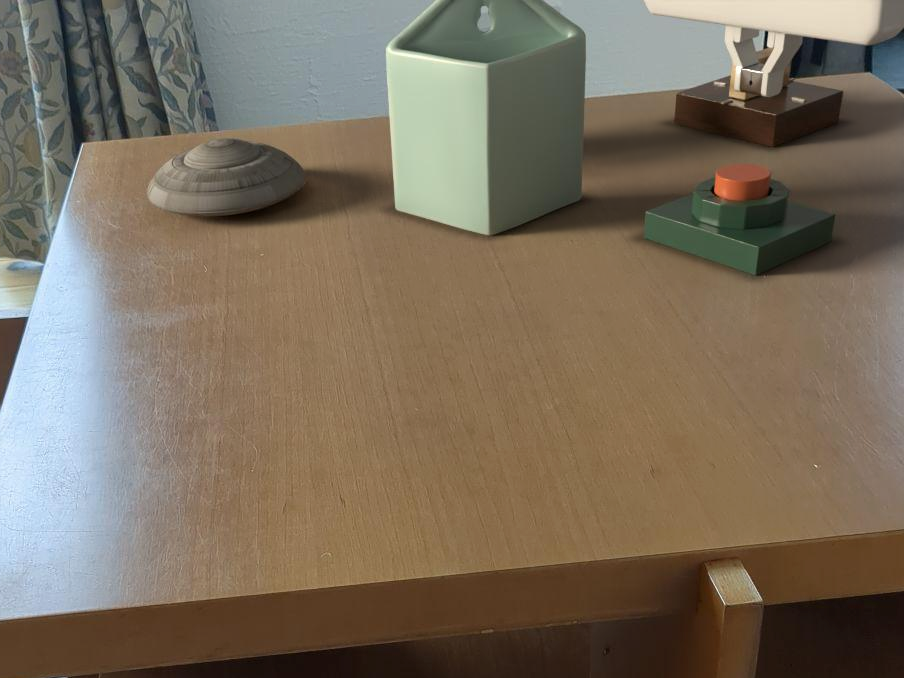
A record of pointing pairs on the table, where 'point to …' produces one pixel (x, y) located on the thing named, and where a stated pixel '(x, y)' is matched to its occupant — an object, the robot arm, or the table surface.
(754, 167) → the button
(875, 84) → the table surface
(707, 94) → the panel
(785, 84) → the handle
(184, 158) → the flying saucer
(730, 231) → the button block
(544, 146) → the planter
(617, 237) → the table surface
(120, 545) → the table surface
